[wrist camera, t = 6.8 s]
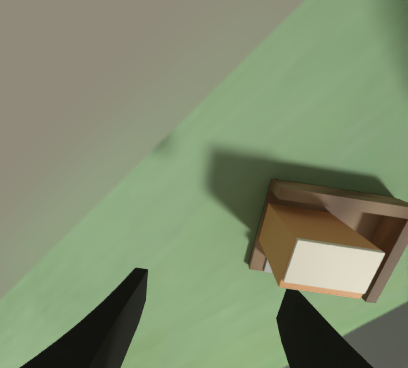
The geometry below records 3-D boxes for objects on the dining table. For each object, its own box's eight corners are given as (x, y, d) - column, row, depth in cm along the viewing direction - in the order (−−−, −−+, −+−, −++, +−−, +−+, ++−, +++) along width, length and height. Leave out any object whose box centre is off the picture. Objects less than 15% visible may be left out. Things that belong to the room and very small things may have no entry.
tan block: (330, 212, 19) (386, 253, 13) (316, 248, 20) (362, 301, 14) (268, 202, 18) (296, 240, 13) (258, 239, 20) (279, 289, 14)
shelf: (394, 197, 19) (425, 209, 16) (355, 280, 22) (375, 303, 19) (271, 178, 18) (281, 187, 16) (248, 265, 21) (253, 285, 19)
